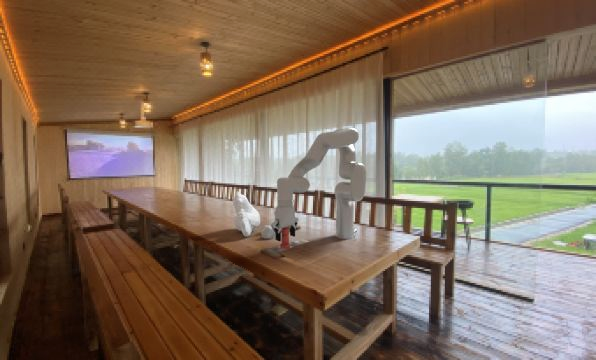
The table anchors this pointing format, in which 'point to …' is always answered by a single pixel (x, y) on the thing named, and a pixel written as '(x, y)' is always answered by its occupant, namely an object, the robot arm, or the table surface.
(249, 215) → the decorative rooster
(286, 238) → the pawn
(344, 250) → the table surface
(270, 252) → the board
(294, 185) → the robot arm
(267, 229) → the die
